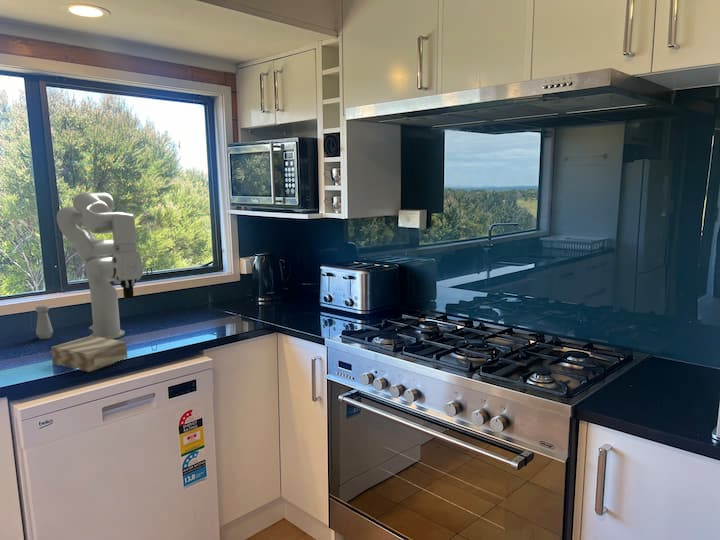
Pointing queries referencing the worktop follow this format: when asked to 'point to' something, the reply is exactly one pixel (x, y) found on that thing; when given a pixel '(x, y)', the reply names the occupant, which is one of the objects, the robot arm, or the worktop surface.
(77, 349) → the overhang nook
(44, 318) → the salt shaker
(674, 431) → the worktop surface
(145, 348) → the worktop surface
